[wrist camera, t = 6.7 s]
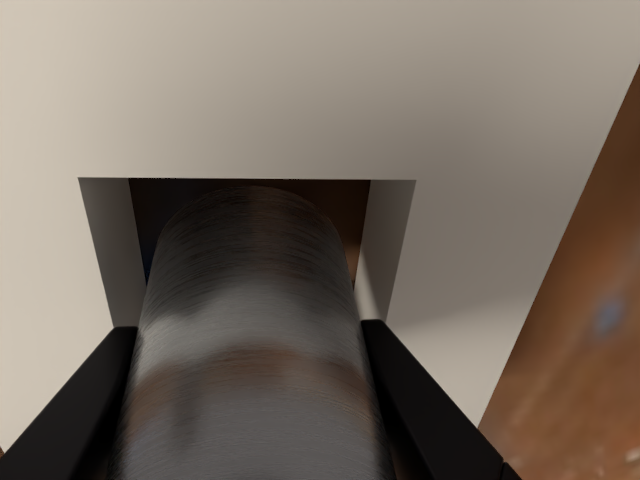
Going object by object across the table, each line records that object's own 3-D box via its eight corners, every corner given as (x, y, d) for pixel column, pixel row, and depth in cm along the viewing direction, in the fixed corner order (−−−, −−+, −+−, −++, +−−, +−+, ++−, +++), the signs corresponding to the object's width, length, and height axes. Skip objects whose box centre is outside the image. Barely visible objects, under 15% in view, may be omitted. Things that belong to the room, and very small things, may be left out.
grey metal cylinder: (335, 327, 13) (402, 703, 7) (165, 332, 12) (98, 743, 7) (353, 185, 10) (476, 591, 5) (142, 185, 10) (8, 640, 4)
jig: (431, 382, 18) (459, 466, 16) (58, 399, 16) (26, 495, 14) (592, -110, 9) (708, -91, 7) (-157, -175, 8) (-333, -177, 5)
